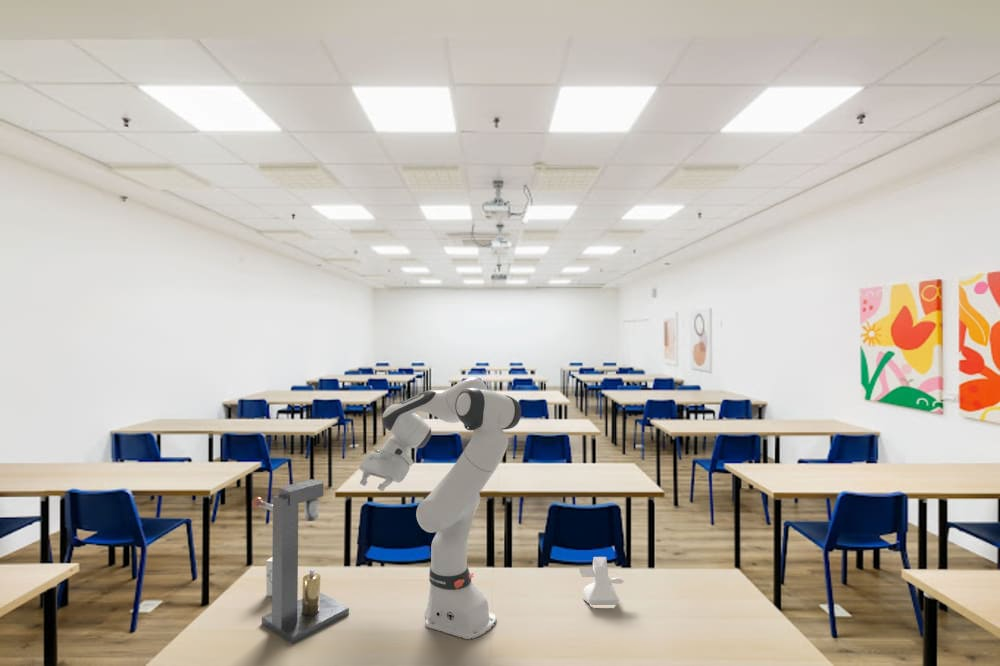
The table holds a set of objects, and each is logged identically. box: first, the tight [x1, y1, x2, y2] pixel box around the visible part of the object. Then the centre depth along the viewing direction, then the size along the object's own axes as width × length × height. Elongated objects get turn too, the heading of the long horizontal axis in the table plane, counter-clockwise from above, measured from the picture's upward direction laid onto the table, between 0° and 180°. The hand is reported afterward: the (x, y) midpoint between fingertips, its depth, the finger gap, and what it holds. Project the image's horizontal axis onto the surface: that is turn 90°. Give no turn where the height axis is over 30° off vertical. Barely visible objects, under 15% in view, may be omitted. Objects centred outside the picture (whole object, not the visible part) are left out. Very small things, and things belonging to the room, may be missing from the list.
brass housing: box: [301, 569, 321, 615], centre depth 158 cm, size 5×5×12 cm
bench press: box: [251, 478, 350, 645], centre depth 159 cm, size 25×19×41 cm
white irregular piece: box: [578, 556, 625, 606], centre depth 168 cm, size 8×14×14 cm, turn 91°
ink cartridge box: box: [265, 556, 272, 597], centre depth 173 cm, size 9×5×15 cm, turn 168°
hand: (370, 487), depth 178 cm, fingers open, 8 cm apart
